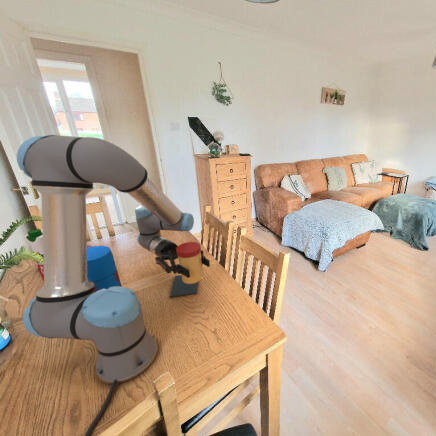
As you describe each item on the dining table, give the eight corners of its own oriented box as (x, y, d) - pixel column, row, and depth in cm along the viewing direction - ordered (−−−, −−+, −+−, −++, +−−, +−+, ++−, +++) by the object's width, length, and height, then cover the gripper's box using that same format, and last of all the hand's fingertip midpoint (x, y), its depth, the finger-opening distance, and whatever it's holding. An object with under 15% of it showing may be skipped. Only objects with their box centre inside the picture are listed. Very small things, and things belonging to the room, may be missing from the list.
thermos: (85, 325, 82) (61, 264, 73) (99, 303, 92) (79, 247, 82) (121, 319, 85) (103, 260, 76) (131, 299, 95) (116, 244, 85)
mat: (196, 293, 99) (196, 292, 99) (170, 297, 97) (169, 296, 96) (198, 274, 112) (198, 273, 112) (175, 276, 109) (175, 275, 109)
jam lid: (200, 256, 83) (199, 252, 82) (175, 259, 81) (174, 254, 80) (201, 245, 90) (201, 241, 90) (178, 247, 88) (178, 242, 88)
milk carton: (36, 271, 108) (18, 232, 100) (56, 261, 116) (41, 223, 109) (53, 273, 107) (37, 234, 100) (72, 262, 116) (58, 225, 108)
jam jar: (202, 282, 88) (199, 252, 83) (180, 285, 86) (175, 255, 81) (204, 270, 94) (200, 242, 90) (183, 272, 92) (178, 244, 88)
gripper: (188, 246, 106) (222, 264, 95) (139, 267, 91) (173, 292, 79) (185, 231, 103) (221, 248, 92) (135, 250, 88) (170, 273, 76)
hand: (199, 268), depth 85 cm, fingers closed on jam jar, 8 cm apart
